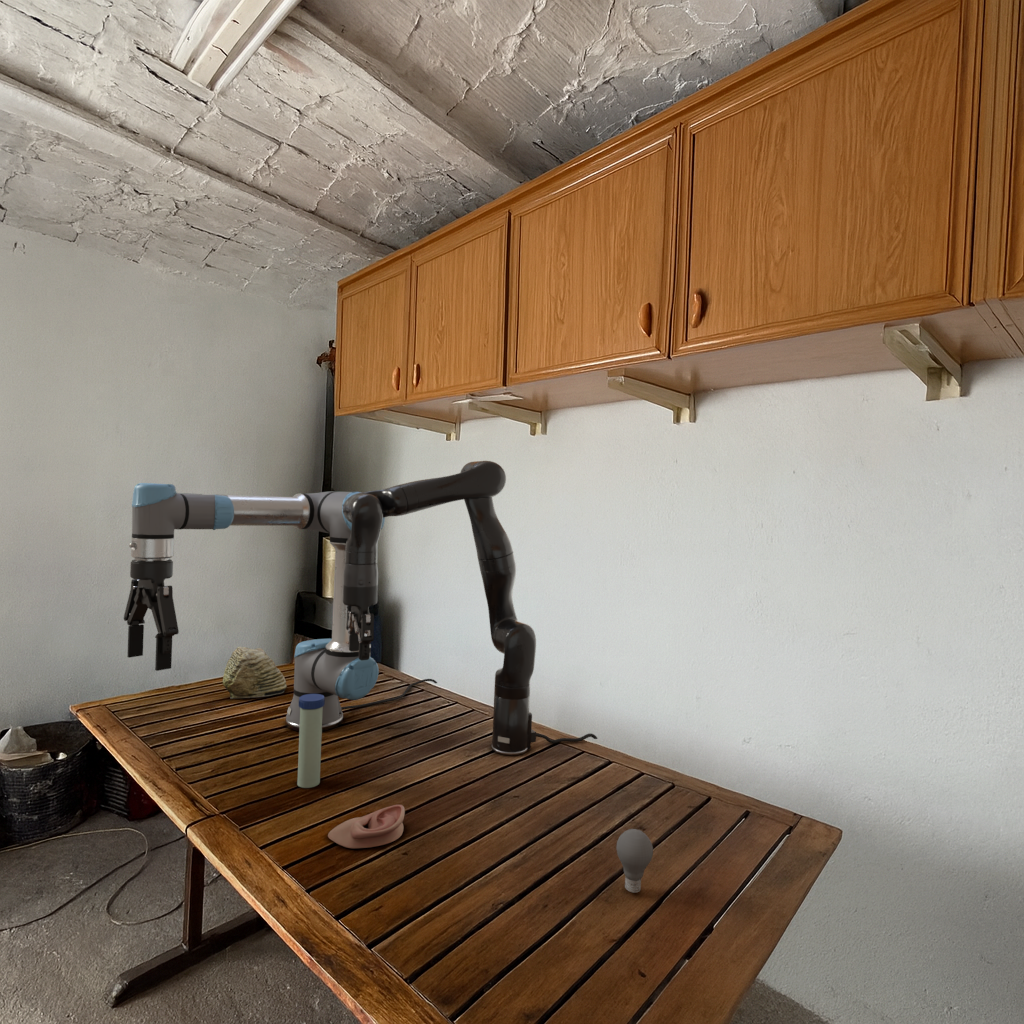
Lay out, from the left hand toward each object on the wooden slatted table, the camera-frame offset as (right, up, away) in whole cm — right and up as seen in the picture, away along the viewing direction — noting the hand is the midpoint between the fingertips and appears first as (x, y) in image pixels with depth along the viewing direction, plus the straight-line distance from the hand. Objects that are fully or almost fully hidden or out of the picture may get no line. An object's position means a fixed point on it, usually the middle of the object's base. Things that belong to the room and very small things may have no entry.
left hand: (148, 662), depth 129 cm
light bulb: (+94, -33, -24) cm, 103 cm away
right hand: (+40, -1, +12) cm, 42 cm away
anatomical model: (+47, -30, -9) cm, 56 cm away
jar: (+29, -29, +11) cm, 43 cm away
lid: (+30, -10, +10) cm, 33 cm away
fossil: (-6, -27, +69) cm, 74 cm away
